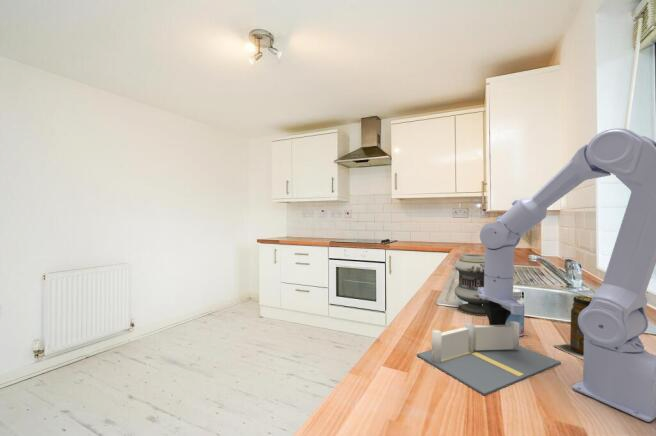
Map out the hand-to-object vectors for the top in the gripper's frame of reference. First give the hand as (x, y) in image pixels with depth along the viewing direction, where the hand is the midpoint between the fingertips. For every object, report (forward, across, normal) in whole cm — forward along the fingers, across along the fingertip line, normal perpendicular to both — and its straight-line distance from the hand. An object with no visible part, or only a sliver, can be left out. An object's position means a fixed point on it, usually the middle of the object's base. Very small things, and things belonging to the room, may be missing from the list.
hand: (497, 335), depth 66 cm
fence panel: (+2, +1, -1) cm, 3 cm away
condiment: (+3, +1, +19) cm, 19 cm away
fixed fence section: (+3, +4, -12) cm, 13 cm away
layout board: (+3, +5, -5) cm, 8 cm away
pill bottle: (+3, -10, +9) cm, 14 cm away
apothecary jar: (+3, -28, +9) cm, 29 cm away
